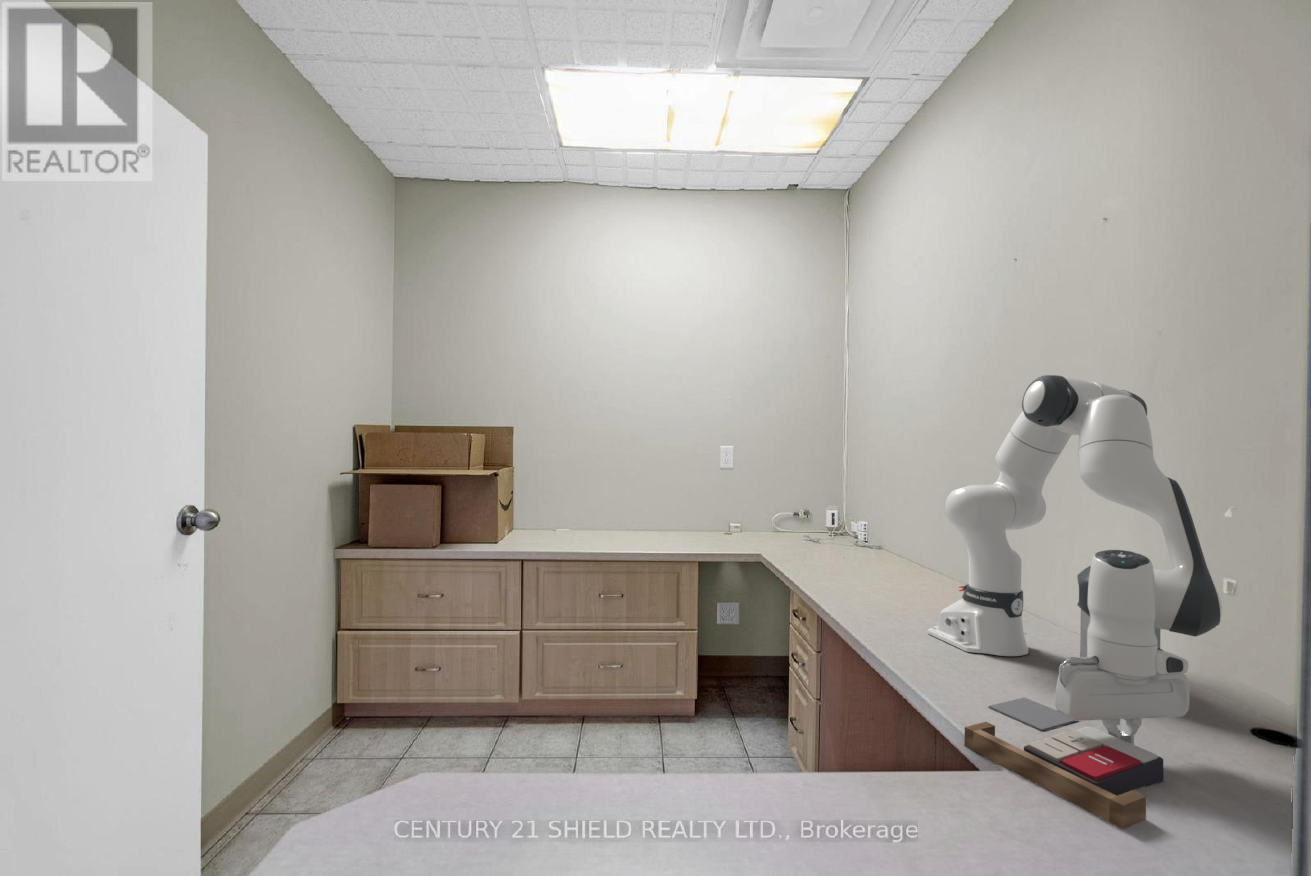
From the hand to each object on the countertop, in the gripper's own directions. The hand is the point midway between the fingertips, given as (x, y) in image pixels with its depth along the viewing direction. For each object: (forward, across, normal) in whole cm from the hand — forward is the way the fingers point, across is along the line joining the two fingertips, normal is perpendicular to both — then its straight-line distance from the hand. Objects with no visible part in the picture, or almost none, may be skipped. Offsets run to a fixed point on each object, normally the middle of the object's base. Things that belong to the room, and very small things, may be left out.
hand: (1120, 744), depth 97 cm
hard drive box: (+2, +24, +26) cm, 35 cm away
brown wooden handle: (+2, -17, -5) cm, 18 cm away
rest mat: (+2, -3, +15) cm, 15 cm away
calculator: (+2, -8, -4) cm, 10 cm away
